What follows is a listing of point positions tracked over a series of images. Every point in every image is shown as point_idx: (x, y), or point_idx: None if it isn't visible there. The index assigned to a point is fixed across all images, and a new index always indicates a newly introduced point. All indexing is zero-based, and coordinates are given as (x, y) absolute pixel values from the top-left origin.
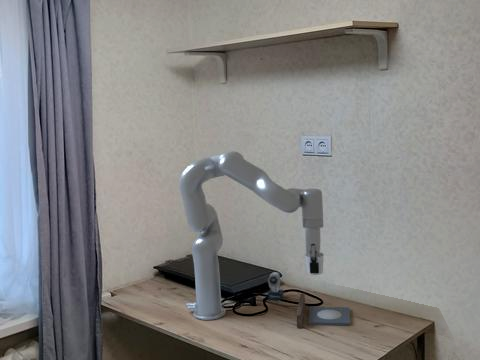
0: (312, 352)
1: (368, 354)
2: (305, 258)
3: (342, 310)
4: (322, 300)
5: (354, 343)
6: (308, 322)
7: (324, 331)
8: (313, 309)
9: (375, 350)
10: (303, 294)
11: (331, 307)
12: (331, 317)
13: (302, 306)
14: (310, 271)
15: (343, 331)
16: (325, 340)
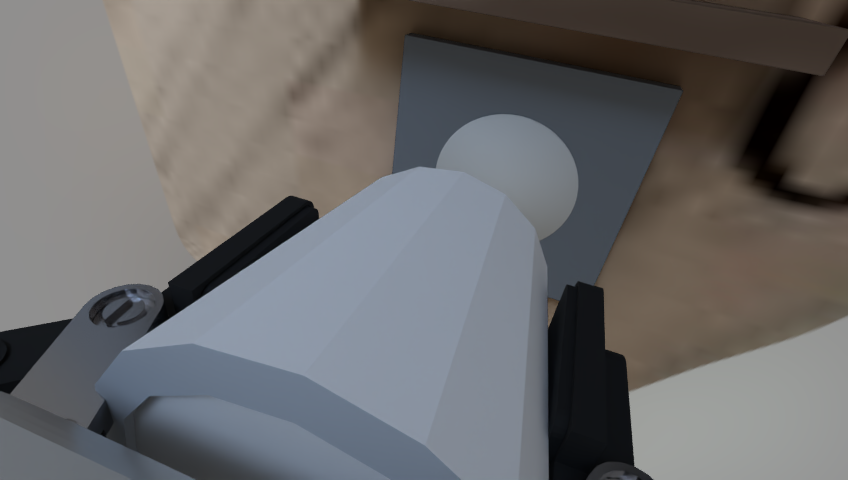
0: (128, 14)
1: (177, 219)
2: (342, 292)
3: (549, 265)
4: (830, 209)
5: (240, 203)
6: (406, 37)
7: (331, 111)
8: (613, 106)
9: (207, 248)
10: (796, 59)
11: (613, 225)
12: None
13: (478, 12)
14: (281, 209)
15: (336, 196)
16: (243, 96)
